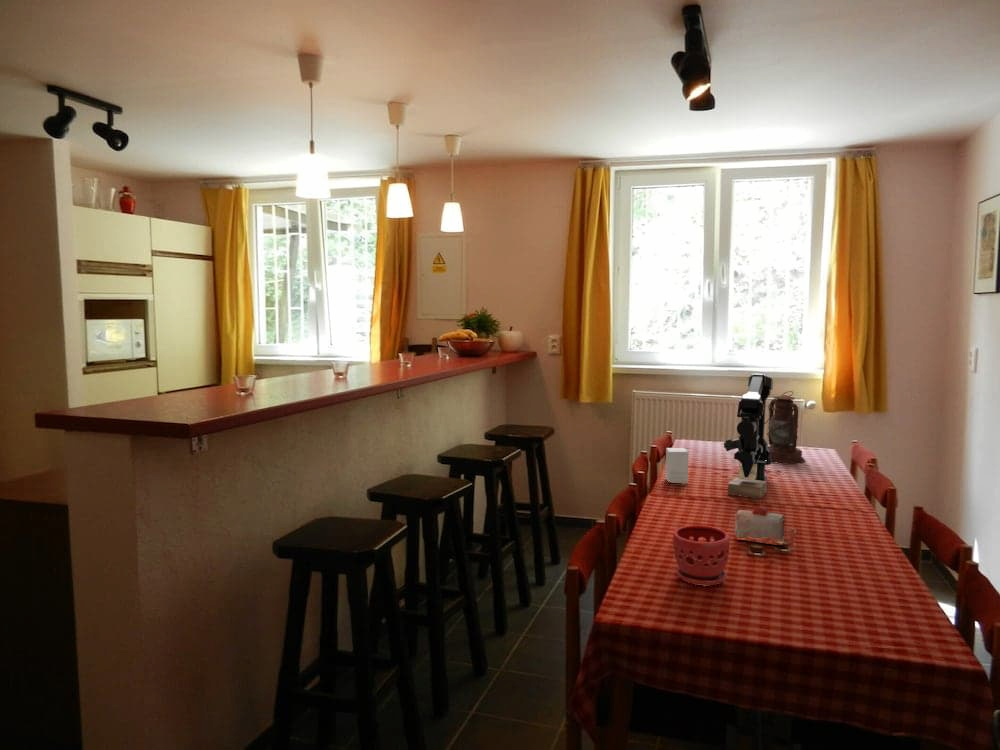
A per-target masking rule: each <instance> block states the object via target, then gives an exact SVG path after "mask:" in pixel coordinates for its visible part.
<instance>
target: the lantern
mask: <svg viewBox="0 0 1000 750" xmlns="http://www.w3.org/2000/svg"><path fill="white" fill-rule="evenodd" d="M786 393H791V394H790V395H786ZM793 395H794V392H793V391H791V390H790V391H786V392H783V393H782V394H781V395H777V396H773V399H772V400H771V401H770V402H769V404H768V406H769V407H768V413H769V414H768V415H769V416H768V419H767V420H765V425H766V424H767V425H768V426H767V428H768V432H767V433H766V436H767V437H768V444H769V445H768V450H769V452H770V453H771V462H777V463H776V464H778V463H787V464H786V465H797V464H796V463H801V464H804V463H805V462H806V460H805V458H804V457H802V456H803V451H802V450H801V449H800V448H797V441H798V428H799V407H798V405H797V404H796V403H795V402H794V400H796V397H792V396H793ZM803 462H804V463H803Z"/></svg>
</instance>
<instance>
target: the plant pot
mask: <svg viewBox="0 0 1000 750" xmlns="http://www.w3.org/2000/svg"><path fill="white" fill-rule="evenodd" d="M672 535H673V537H672V538H673V539H672V540H673V543H672V545H673V551H674V557H675V561H676V564H677V566H678V568H676V574H677V576H678V577H679V578H680V577H681V578H682V579H684V580H686V581H689V582H693V583H697V584H705V585H706V584H707V585H709V584H710V585H712V584H718V583H721V582H722V583H723V582H724V581H725V580H726V578H727V573H726V571H725V569H726V568H727V565H728V560H729V555H730V542H731V541H730V535H729V533H728V532H727V531H726V530H724V529H721V528H719V527H715V526H711V525H704V524H703V525H699V524H693V525H685V526H684V525H683V526H681V527H677V528H676V529H674V531H673V534H672ZM691 537H693V539H692V540H691V539H690V538H691ZM702 537H703V538H704V539H705V541H699V539H700V538H702ZM711 537H712V538H713V539H714V540H713V541H711ZM681 578H680V579H681ZM682 579H681V580H682ZM722 583H721V584H722Z"/></svg>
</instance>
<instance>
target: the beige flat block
mask: <svg viewBox="0 0 1000 750" xmlns="http://www.w3.org/2000/svg"><path fill="white" fill-rule="evenodd" d="M767 483H768V481H767V480H765V481H761V480H754V481H751V480H743V479H739V476H738V477H734V478H733V479H731V480H730V482H728V483H727V495H728V494H735V495H741V496H747V497H746V498H748V497H752V498H751V499H755V498H759V499H758V500H761V499H762V498H763V497H764V496H765V494H766V493H767V487H768V486H767V485H768V484H767ZM741 496H740V497H741ZM762 496H763V497H762ZM761 497H762V498H761ZM760 498H761V499H760Z"/></svg>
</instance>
